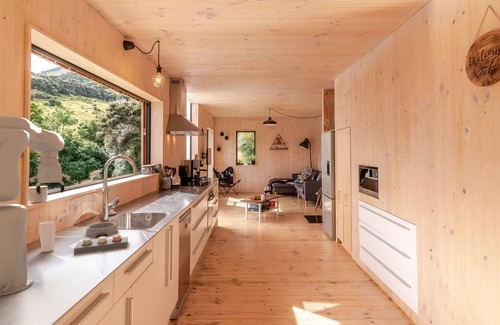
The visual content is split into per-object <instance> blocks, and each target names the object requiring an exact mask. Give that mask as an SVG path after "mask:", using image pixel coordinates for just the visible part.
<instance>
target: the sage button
mask: <svg viewBox="0 0 500 325" xmlns="http://www.w3.org/2000/svg"><path fill="white" fill-rule="evenodd" d="M92 241H93V238H91V237H87V238H85V239H82V242H83V246H86V245H92Z"/></svg>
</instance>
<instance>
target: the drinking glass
mask: <svg viewBox="0 0 500 325" xmlns="http://www.w3.org/2000/svg"><path fill="white" fill-rule="evenodd" d="M38 234H39V240H40V245H41V246H40V247H41V249H40V250H41V252H42V253H49V252H52V251H54V250H55V240H56V239H55V237H56V222H55V220H47V221H42V222H39V223H38Z"/></svg>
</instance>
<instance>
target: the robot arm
mask: <svg viewBox="0 0 500 325" xmlns="http://www.w3.org/2000/svg"><path fill="white" fill-rule="evenodd" d="M27 147H28V148H29V149H30V150H31V151H33V152H39V154H40V155H39V156H40V158H37V159H36V161H37V163H38V162H39V163H38V166H37V174H36V175H35V176H31V177H30V178H29V182H30V183H31V184H32V185H33V186H35V188H36V189H35V190H36V194H37V195H41V194H42V188H41V184H45V183H46V184H47V183H48V184H49V183H50V184H51V183H59V184H60V193H61V194H63V192H64V191H65V185H66V184H67V183H68V182H69V181H70V178H71V176H69V175H67V174H64V173H63V172H62V166H61V163H59V152H60V151H62V150H63V149H64V147H65V141H64V139H63V137H62V136H61V135H60V134H59V133H57V132H55V131H51V130H47V129H44V128H40V127H37V126H36V125H35V124H33V123H32V122H31V121H30V120H28V119H27V118H24V117H21V116H3V115H2V116H0V203H5V202H13V201H15V200H17V199H19V197H20V195H21V182H20V174H19V172H20V171H19V161H20V158H21V157H22V155H23V153H24V151H25V150H26V149H27ZM63 178H65V180H64V181H63ZM36 179H37V182H36V181H35V180H36ZM28 210H29V209H28V208H27V206H25V205H23V204H18V203H10V204H9V203H8V204H7V203H5V204H0V295H4V296H7V295H8V294H9V295H12V294H15V293H18V292H21V291H24V290H26V289H28V288H30V286H32V284H34V279H33V278H32V277H30V276H29V277H28V275H29V274H28V253H27V252H28V251H27V226H28V219H29V211H28Z"/></svg>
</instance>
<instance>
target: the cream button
mask: <svg viewBox="0 0 500 325" xmlns="http://www.w3.org/2000/svg"><path fill="white" fill-rule="evenodd" d="M107 239H108V238H107V236H99V237H98V238H97V240H98V244H102V243H107Z"/></svg>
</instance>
